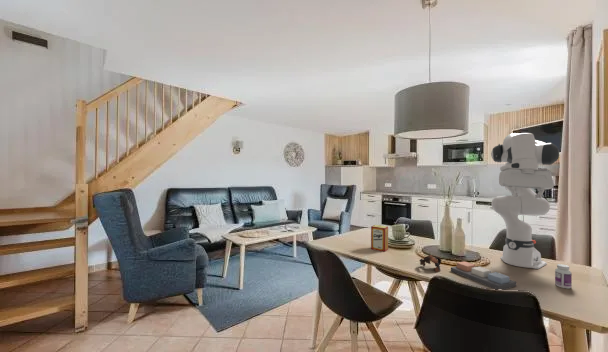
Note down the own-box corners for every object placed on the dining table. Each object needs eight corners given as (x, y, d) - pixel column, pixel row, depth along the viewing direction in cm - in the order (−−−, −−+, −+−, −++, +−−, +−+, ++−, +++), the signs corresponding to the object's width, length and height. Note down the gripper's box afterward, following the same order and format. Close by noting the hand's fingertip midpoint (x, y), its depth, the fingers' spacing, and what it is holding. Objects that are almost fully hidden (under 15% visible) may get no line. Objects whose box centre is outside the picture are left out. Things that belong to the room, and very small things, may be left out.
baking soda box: (388, 249, 175) (388, 226, 175) (384, 251, 170) (384, 227, 169) (374, 246, 181) (374, 224, 180) (371, 249, 175) (371, 225, 175)
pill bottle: (570, 286, 118) (571, 265, 118) (572, 290, 114) (572, 268, 114) (554, 282, 122) (554, 262, 122) (555, 286, 118) (555, 265, 118)
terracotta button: (464, 266, 138) (464, 261, 138) (475, 270, 133) (475, 264, 133) (456, 268, 136) (456, 262, 136) (467, 272, 131) (467, 266, 131)
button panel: (466, 268, 140) (466, 264, 140) (516, 286, 118) (516, 281, 118) (450, 271, 136) (450, 267, 136) (499, 290, 114) (499, 286, 114)
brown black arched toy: (434, 274, 133) (425, 259, 135) (422, 276, 141) (414, 262, 143) (449, 265, 137) (440, 250, 140) (437, 267, 146) (429, 253, 148)
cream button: (479, 272, 131) (479, 266, 131) (491, 276, 125) (491, 270, 125) (471, 273, 129) (471, 267, 129) (483, 278, 123) (483, 272, 123)
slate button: (496, 278, 123) (496, 272, 123) (509, 283, 118) (509, 276, 118) (488, 280, 121) (488, 273, 121) (501, 285, 116) (501, 278, 116)
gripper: (544, 170, 117) (547, 200, 115) (496, 167, 120) (497, 196, 118) (556, 167, 111) (559, 198, 109) (504, 164, 114) (506, 194, 112)
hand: (526, 197), depth 113 cm, fingers open, 8 cm apart
